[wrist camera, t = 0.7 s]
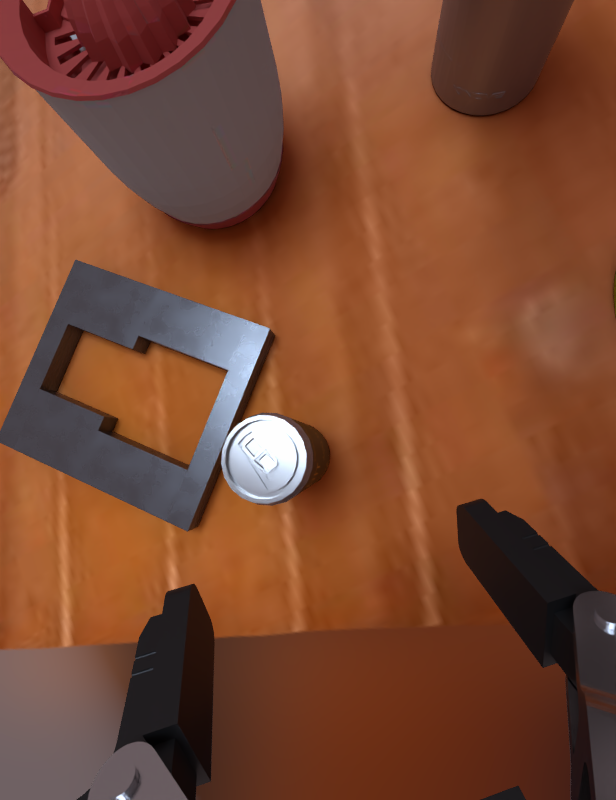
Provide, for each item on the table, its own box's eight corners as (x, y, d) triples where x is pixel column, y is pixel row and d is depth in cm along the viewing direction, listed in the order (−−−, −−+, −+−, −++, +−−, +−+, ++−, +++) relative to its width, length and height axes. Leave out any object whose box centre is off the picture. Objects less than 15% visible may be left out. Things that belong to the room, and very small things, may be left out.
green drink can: (255, 453, 35) (198, 455, 23) (301, 410, 35) (266, 391, 23) (297, 500, 34) (259, 529, 22) (344, 457, 34) (331, 461, 22)
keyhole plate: (275, 335, 36) (269, 328, 34) (197, 526, 35) (187, 531, 33) (90, 269, 39) (75, 259, 37) (15, 441, 38) (-4, 440, 36)
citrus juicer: (168, 79, 41) (-17, -265, 21) (327, 121, 38) (282, -236, 18) (105, 218, 40) (-150, -5, 20) (261, 273, 37) (139, 73, 17)
